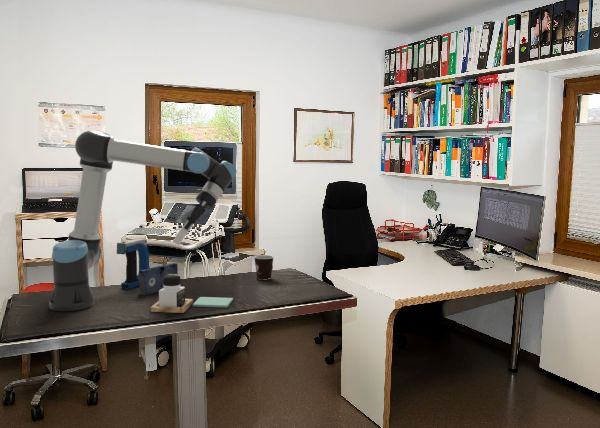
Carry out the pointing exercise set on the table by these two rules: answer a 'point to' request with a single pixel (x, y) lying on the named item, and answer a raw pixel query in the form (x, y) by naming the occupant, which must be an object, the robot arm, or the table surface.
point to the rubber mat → (213, 302)
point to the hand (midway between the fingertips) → (177, 240)
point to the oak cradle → (172, 309)
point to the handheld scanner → (134, 260)
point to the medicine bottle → (172, 292)
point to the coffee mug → (263, 266)
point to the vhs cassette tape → (155, 277)
